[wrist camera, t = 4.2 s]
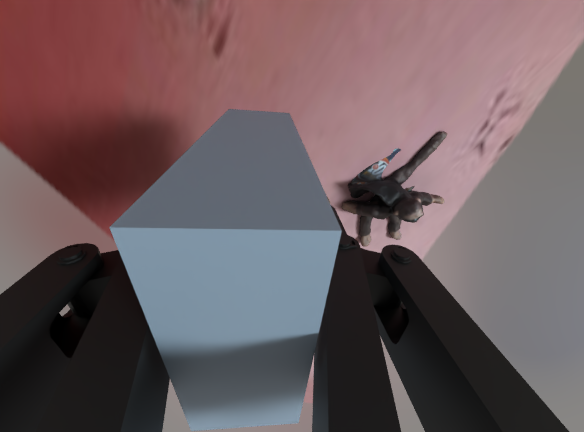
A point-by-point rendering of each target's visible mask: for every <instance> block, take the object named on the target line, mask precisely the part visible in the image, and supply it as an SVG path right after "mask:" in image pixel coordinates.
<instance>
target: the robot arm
mask: <svg viewBox="0 0 584 432" xmlns="http://www.w3.org/2000/svg"><path fill="white" fill-rule="evenodd" d="M331 208H332V210H333V212H334V214H335V217H336V219H337V221H338V223H339V226H340V228H341V230H342V232H341V237H340V241H339V246H338V250H337V254H336V259H335V263H334V268H333V272H332V277H331V281H330V285H329V290H328V294H327V299H326V303H325V307H324V312H323V316H322V321H321V325H320V330H319V334H318V338H317V343H316V347H315V352H314V385H313V424H312V432H401V429H400V424H399V420H398V416H397V411H396V406H395V402H394V397H393V393H392V388H391V384H390V379H389V375H388V370H387V366H386V361H385V357H384V352H383V348H382V343H381V339H380V336H381V338H382V340H383V342H384V345H385V347H386V349H387V351H388V353H389V355H390V357H391V360H392V361H393V364H394V366H395V368H396V370H397V372H398V374H399V376H400V379H401V381H402V383H403V385H404V387H405V389H406V391H407V394H408V396H409V398H410V400H411V402H412V404H413V406H414V409H415V411H416V413H417V415H418V417H419V419H420V422H421V424H422V426H423V428H424V430H425V432H569V431H568V430H567V429H566V428H565V426H564V425H563V424H562V423H561V422H560V420H559V419H558V418H557V417H556V416H555V415H554V413H553V412H552V411H551V410H550V409H549V408H548V407H547V405H546V404H545V403H544V402H543V401H542V400H541V398H540V397H539V396H538V395H537V394H536V393H535V391H534V390H533V389H532V388H531V387H530V386H529V384H527V382H526V381H525V380H524V379H523V378H522V376H521V375H520V374H519V373H518V372H517V371H516V369H515V368H514V367H513V366H512V365H511V364H510V362H509V361H508V360H507V359H506V358H505V357H504V356H503V354H502V353H501V352H500V351H499V350H498V349H497V347H496V346H495V345H494V344H493V343H492V342H491V340H490V339H489V338H488V337H487V336H486V335H485V333H484V332H483V331H482V330H481V329H480V328H479V327H478V325H477V324H476V323H475V322H474V321H473V320H472V318H470V316H469V315H468V314H467V313H466V312H465V310H464V309H463V308H462V307H461V306H460V305H459V303H458V302H457V301H456V300H455V299H454V298H453V296H452V295H451V294H450V293H449V292H448V291H447V289H446V288H445V287H444V286H443V285H442V284H441V283H440V281H439V280H438V279H437V278H436V277H435V276H434V274H433V273H432V272H431V271H430V270H429V269H428V268H427V266H426V265H425V264H424V263H423V262H422V260H421V259H420V258H419V257H418V256H417V255H416V254H415V253H414V252H413V251H411V250H409V249H407V248H405V247H403V246H399V245H387V246H385V247H384V248H383V249H382V252H381V253H377V252H373V251H368V250H365V249H362V248H360V245H359V243H358V241H356V240H355V239H354V238H353V237H350V236H348V235H347V234H346V231H345V229H344V227H343V225H342V223H341V221H340V219H339V216H338V215H337V212H336V210H335V208H334V207H333V206H331ZM67 304H68V306H69V307H70V310H69V311H68V312H67V313H66V314H65V315H64V316H61V315H60V314H59V312H60V311H61V310H62V309H63V308H64V307H65V306H66V305H67ZM169 380H170V377H169V374H168V372H167V369H166V367H165V365H164V362H163V360H162V357H161V355H160V352H159V350H158V347H157V345H156V342H155V340H154V337H153V335H152V332H151V330H150V327H149V325H148V322H147V320H146V317H145V315H144V312H143V310H142V307H141V305H140V302H139V300H138V297H137V295H136V292H135V290H134V287H133V285H132V282H131V280H130V277H129V275H128V272H127V270H126V267H125V265H124V262H123V260H122V257H121V255H120V252H119V250H117V251H111V252H106V253H100V251H99V249H98V247H96V246H95V245H93V244H88V243H84V244H75V245H70V246H67V247H65V248H63V249H60V250H58V251H56V252H55V253H53V254H51V255H50V256H49V257H47V258H46V259H45V260H44V261H42V262H41V263H40V264H38V265H37V266H36V267H35V268H33V269H32V270H31V271H30V272H28V273H27V274H26V275H25V276H23V277H22V278H21V279H20V280H18V281H17V282H16V283H14V284H13V285H12V286H11V287H9V288H8V289H7V290H6V291H4V292H3V293H2V294H1V295H0V432H162V428H163V421H164V414H165V408H166V400H167V393H168V386H169Z"/></svg>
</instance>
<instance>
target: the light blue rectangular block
mask: <svg viewBox="0 0 584 432" xmlns="http://www.w3.org/2000/svg"><path fill="white" fill-rule="evenodd" d="M109 228H110V230H111V233H112V235H113V238H114V240H115V243H116V245H117V247H118V250H119V252H120V255H121V257H122V260H123V262H124V265H125V267H126V270H127V272H128V275H129V277H130V280H131V282H132V285H133V287H134V290H135V292H136V295H137V297H138V300H139V302H140V305H141V307H142V310H143V312H144V315H145V317H146V320H147V322H148V325H149V327H150V330H151V332H152V335H153V337H154V340H155V342H156V345H157V347H158V350H159V352H160V355H161V357H162V360H163V362H164V365H165V367H166V369H167V372H168V374H169V377H170V379H171V382H172V384H173V387H174V389H175V392H176V394H177V397H178V399H179V402H180V404H181V407H182V409H183V412H184V414H185V417H186V419H187V422H188V424H189V426H190V429H191V431H198V430H211V429H225V428H238V427H252V426H265V425H278V424H292V423H298V422H299V418H300V413H301V409H302V405H303V400H304V396H305V391H306V387H307V383H308V378H309V374H310V369H311V365H312V360H313V356H314V352H315V347H316V343H317V338H318V334H319V330H320V325H321V321H322V316H323V312H324V307H325V303H326V299H327V294H328V290H329V285H330V281H331V277H332V272H333V268H334V263H335V259H336V254H337V250H338V246H339V241H340V237H341V232H342V230H341V228H340V226H339V223H338V221H337V219H336V217H335V214H334V212H333V210H332V208H331V205H330V203H329V201H328V199H327V196H326V194H325V192H324V190H323V187H322V185H321V183H320V181H319V178H318V176H317V174H316V172H315V169H314V167H313V165H312V163H311V160H310V158H309V156H308V154H307V152H306V149H305V147H304V145H303V143H302V140H301V138H300V136H299V134H298V131H297V129H296V127H295V125H294V122H293V120H292V118H291V116H290V113H280V112H265V111H251V110H236V109H228V110H227V111H226V112H225V113H224V114H223V115H222V116H221V117H220V118H219V119H218V120H217V121H216V122H215V123H214V124H213V125H212V126H211V127H210V128H209V129H208V130H207V131H206V132H205V133H204V134H203V135H202V136H201V137H200V138H199V139H198V140H197V141H196V142H195V143H194V144H193V145H192V146H191V147H190V148H189V149H188V150H187V151H186V152H185V153H184V154H183V155H182V156H181V157H180V158H179V159H178V160H177V161H176V162H175V163H174V164H173V165H172V166H171V167H170V168H169V169H168V170H167V171H166V172H165V173H164V174H163V175H162V176H161V177H160V178H159V179H158V180H157V181H156V182H155V183H154V184H153V185H152V186H151V187H150V188H149V189H148V190H147V191H146V192H145V193H144V194H143V195H142V196H141V197H140V198H139V199H138V200H137V201H136V202H135V203H134V204H133V205H132V206H131V207H130V208H129V209H128V210H127V211H126V212H125V213H124V214H123V215H122V216H121V217H119V218H118V219H117V220H116V221H115V222H114V223H113V224H112V225H111V226H110V227H109Z"/></svg>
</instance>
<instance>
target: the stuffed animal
mask: <svg viewBox="0 0 584 432" xmlns="http://www.w3.org/2000/svg"><path fill="white" fill-rule="evenodd" d="M446 136H447V133H446V132H440V133H438V134H436V135H435V136H434V137H433V138H432V139H431V140H430V141H429V142H428V143H427V144H426V145H425V147H423V148H422V149H421V150H420V151H419V153H418V154H417V155H416V156H415V157H414V158H413V159H412V161H411V162H409V163H408V164H406V165H405V166H403V167H401V168H400V169H398V170H396V171H395V172H394V173H393V174H392V175H391V176H390V177H388V178H385V179H382V178H381V175H382V172H383V170H384V169H385V167H386V166H387V165H388V163H389V162H390V161H391V160H392V158H393V157H394V156H395V155H396V154H397V153H398V152H399V151H400V150H401V149H394V151H393V153H392V154H391V155H390V156H388V157H386V158H384V159H382V160H380V161H378V162H376V163H374V164H372V165H371V166H369V167H368V168H366V169H365V170H363V171H362V172H361V173H359V174H358V175H357V176H356V177H355V178H354V179H353V181H352V183H349V184H348V186H349V190H350V192H351V197H352V198H359V197H361V196H362V195H363V194H365V193H367V192H369V191H370V192H372V193H374V194H375V195H374V196H373V197H372V199H371V200H370V201H369V202H365V201H353V200H349V201H346V202H344V203H343V205H342V209H344V210H347V211H349V212H351V213H353V214H358V215H361V217H360V232H359V235H360V236H361V244H362V246H368V245H369V243H370V241H371V236H370V232H371V229H370V225H371V220H372V218H373V217H374V218H377V219H383V220H384V219H385V218H387V217H389V219H390V222H389V224H388V229H389V233H390V235H391V236H392V238H394V239H396V240H399V239H400V238H401V233H400V231H399V229H400V224H401V220H404V221H407V222H412V223H414V222H417V220H418V219H419V218H420V217H421V216H423V215H424V213H423V208H422V205H425V206H427V205H429V204H431V203H439V204H443V203H444V199H443V198H442V197H440V196H437V195H432V194H429V193H425V192H415V191H411V190H412V189H413V188H414V186H412V187H410V188H406V190H405V189H403V188H402V186H401V184H402V183H404V182H405V181H406V180H407V179H408V178H409V177H410V176H411V175H412V173H413V171H414V170H415V169H416V168H417V167H418V166H419V165H420V164H421V163H422V162H423V161H424V160H426V159H427V158H428V157H429V155H430V154H431V153H432V152H434V151H435V150H436V149H437V147H438V146H439V145H440V144H441V142H442V141H443V140H444V139H445V138H446Z"/></svg>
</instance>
